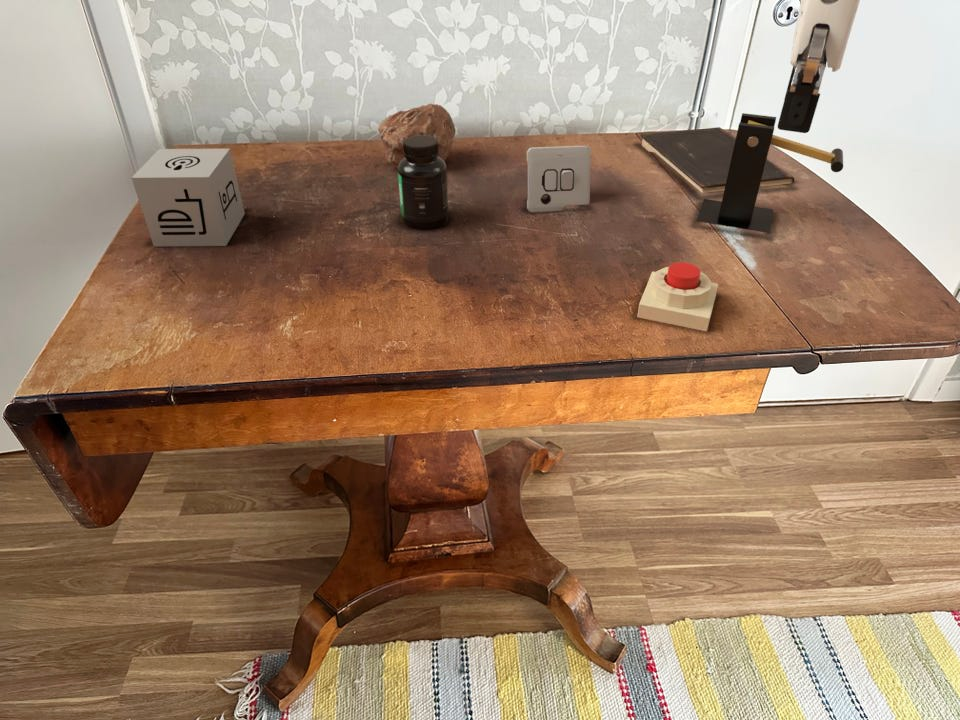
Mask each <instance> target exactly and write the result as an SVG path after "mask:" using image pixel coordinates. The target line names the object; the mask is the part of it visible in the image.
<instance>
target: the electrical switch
mask: <svg viewBox="0 0 960 720" xmlns="http://www.w3.org/2000/svg"><path fill="white" fill-rule="evenodd" d="M591 150H592V149H591V148H590V147H589V146H588V145H564V146H562V145H561V146H537V147H536V146H535V147H529V148H528V149H527V150H526V162H527V199H526V209H527V211H528V212H529V213H548V212H549V213H550V212H562V211H563V210H564V209H565V207H566V206H584V205H586V206H587V205H590V199H591V197H590V196H591V159H592V158H591V157H592V151H591ZM545 196H547V198H546V200H545V201H544V200H543V197H545Z"/></svg>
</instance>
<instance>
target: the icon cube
mask: <svg viewBox="0 0 960 720" xmlns="http://www.w3.org/2000/svg"><path fill="white" fill-rule="evenodd" d="M131 180H132V184H133V187H134V190H135V193H136V196H137V199H138V203H139V206H140V208H141V212H142V215H143V217H144V221H145V224H146V226H147V227H146V228H147V230H148V233H149V236H150V239H151V243H152V245H153V246H152V247H154V248H155V247H157V248H158V247H227V245H228V243H229V242H230V240H231V239H232V238H233V235H234V233H235V232H236V230H237V228H238V227H239V225H240V223H241V221H242V219H243V218H244V217H245V215H246V212H245V208H244V204H243V199H242V196H241V190H240V186H239V182H238V177H237V173H236V168H235V165H234V159H233V156H232V151H231V148H158V149H157V150H156V152H154V154H152V156H151V157H150V158H148V160H147V161H146V162H145V163H144V164H143V165H142V166H141V167H140V168H139V169H138V170H137V171H136V172H135V173H134V174H133V176H132V177H131Z"/></svg>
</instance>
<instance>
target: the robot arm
mask: <svg viewBox="0 0 960 720" xmlns="http://www.w3.org/2000/svg"><path fill="white" fill-rule="evenodd" d="M860 1H861V0H801V1H800V5H799V10H798V14H797V18H796V24H795V28H794V35H793V41H792V48H791V56H790V62H789V63H790V64H791V66H792V70H791V73H790V77H789V80H788V85H787V88H786V92H785V95H784V99H783V100H784V101H783V104H782V108H781V112H780V115H779V119H778V123H777V129H778V130H780V131H786V132H794V133H800V134H807V133H809V132H810V130H811V128H812V127H811V126H812V123H813V120H814V116H815V113H816V110H817V106H818V104H819V100H820V96H821V93H820V89H821V84H822V82H823V77H824V74H825V71H826V68H830V69H831V72H834V73H835V72H838V71H839V70H840V69H841V66H842V62H843V59H844V55H845V52H846V49H847V45H848V42H849V38H850V35H851V32H852V28H853V25H854V21H855V18H856V15H857V12H858V8H859V5H860Z"/></svg>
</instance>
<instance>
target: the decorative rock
mask: <svg viewBox="0 0 960 720" xmlns="http://www.w3.org/2000/svg"><path fill="white" fill-rule="evenodd" d="M377 130H378V134H379V138H380V139H381V141H382V143H383V147H384V155H385V159H386V160H387V162H388V163H389V164H390V165H391V166H392V167H394V168H396V170H398V165H399V163H400V161H401V160H402V159H403V158H405V157H404V155H403V141H404V140H405V139H406V138H408V137H411V136H417V135H427V136H432V137H435V138H437V140H438V145H439V155H438V156H439V157H440V158H442V159H443V160H444V162H446V160H447V157H448V156H449V155H450V152H451V151H452V147H453V146H452V145H453V141H454V138H455V136H456V131H457V130H456V125H455V123H454V122H453V119H452V116H451V114H450V113H449V112H448V110H447V109H446V108H445V107H443V105H440V104H438V103H436V104H434V103H428V104H427V105H420V106H418V107H412V108H410V109H407V110H399V111H397V112H395V113H393V114H389V115H388V116H387V117H385V118H384V119H382V120H381V122H380V124H379V126H378V128H377Z"/></svg>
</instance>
